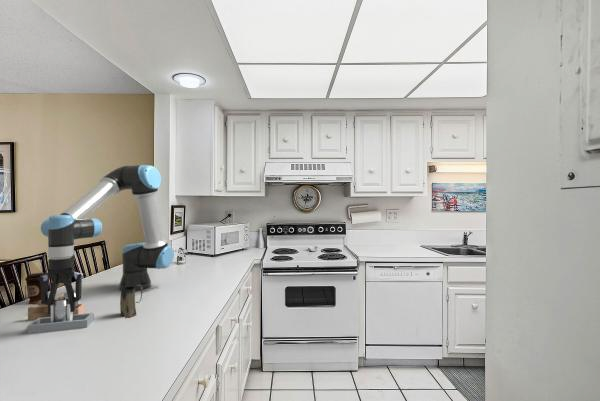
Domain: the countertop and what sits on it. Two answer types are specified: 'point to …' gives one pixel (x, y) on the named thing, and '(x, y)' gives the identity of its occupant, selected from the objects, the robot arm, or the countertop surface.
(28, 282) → the coffee cup
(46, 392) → the countertop surface
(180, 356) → the countertop surface
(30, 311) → the checker cradle
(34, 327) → the trough
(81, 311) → the pink square tray
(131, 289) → the mug
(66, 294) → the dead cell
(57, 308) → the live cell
